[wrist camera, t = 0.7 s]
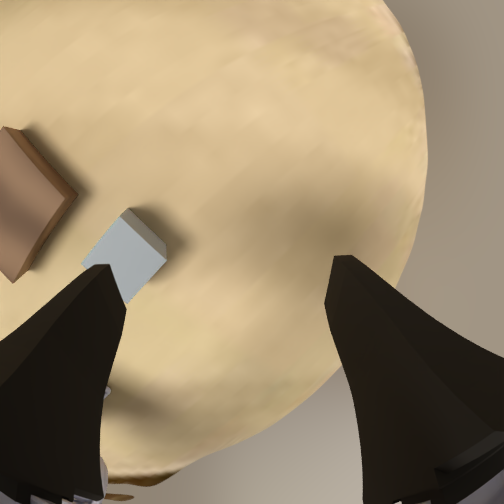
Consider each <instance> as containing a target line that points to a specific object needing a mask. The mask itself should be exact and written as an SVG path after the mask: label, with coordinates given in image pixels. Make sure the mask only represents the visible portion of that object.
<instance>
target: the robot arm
mask: <svg viewBox="0 0 504 504" xmlns="http://www.w3.org/2000/svg"><path fill="white" fill-rule="evenodd" d="M324 305H325V309H326V314H327V319H328V323H329V327H330V331H331V334H332V337H333V340H334V343H335V345H336V348H337V351H338V354H339V357H340V360H341V362H342V365H343V368H344V371H345V374H346V377H347V380H348V383H349V386H350V390H351V393H352V397H353V402H354V407H355V412H356V418H357V424H358V431H359V438H360V446H361V456H362V471H363V504H394V503H397V502H399V501H401V502H402V504H504V358H503V357H500V356H498V355H496V354H494V353H492V352H490V351H488V350H486V349H484V348H482V347H480V346H478V345H476V344H474V343H473V342H471V341H469V340H467V339H466V338H464V337H462V336H460V335H459V334H457V333H456V332H454V331H452V330H451V329H449V328H448V327H446V326H445V325H443V324H442V323H440V322H439V321H437V320H435V319H434V318H433V317H431V316H430V315H428V314H427V313H426V312H424V311H423V310H422V309H420V308H419V307H418V306H416V305H415V304H414V303H412V302H411V301H410V300H408V299H407V298H406V297H404V296H403V295H402V294H401V293H399V292H398V291H397V290H396V289H395V288H393V287H392V286H391V285H390V284H388V283H387V282H386V281H385V280H383V279H382V278H381V277H380V276H378V275H377V274H376V273H375V272H374V271H372V270H371V269H370V268H369V267H367V266H366V265H365V264H363V263H362V262H361V261H359V260H358V259H357V258H355V257H354V256H352V255H340V256H334V259H333V264H332V269H331V274H330V279H329V284H328V289H327V293H326V298H325V302H324ZM126 310H127V309H126V307H125V304H124V302H123V299H122V297H121V294H120V291H119V289H118V286H117V283H116V280H115V278H114V275H113V272H112V269H111V266H110V264H94V265H93V266H91V267H90V268H88V269H87V270H86V271H84V272H83V273H82V274H80V275H79V276H78V277H77V278H76V279H74V280H73V281H72V282H71V283H70V284H68V285H67V286H66V287H65V288H64V289H63V290H61V291H60V292H59V293H58V294H57V295H56V296H55V297H53V298H52V299H51V300H50V301H49V302H48V303H47V304H45V305H44V306H43V307H42V308H41V309H40V310H38V311H37V312H36V313H35V314H34V315H33V316H31V317H30V318H29V319H28V320H27V321H26V322H24V323H23V324H22V325H21V326H20V327H18V328H17V329H16V330H15V331H13V332H12V333H11V334H9V335H8V336H7V337H5V338H4V339H3V340H1V341H0V504H102V501H103V499H104V497H105V494H106V490H107V484H108V470H107V466H106V464H105V462H104V460H103V458H102V457H100V427H101V416H102V407H103V400H104V399H105V398H106V397H107V396H108V395H109V394H110V393H111V389H110V388H109V387H108V386H107V383H108V379H109V376H110V372H111V369H112V365H113V362H114V359H115V355H116V352H117V349H118V346H119V342H120V339H121V336H122V331H123V326H124V321H125V315H126ZM74 498H75V499H74Z"/></svg>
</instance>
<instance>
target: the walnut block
mask: <svg viewBox="0 0 504 504" xmlns="http://www.w3.org/2000/svg"><path fill="white" fill-rule="evenodd" d="M77 195H78V194H77V193H76V192H75V191H74V190H73V189H72V188H71V187H70V185H69V184H68V183H67V182H66V181H65V180H64V179H63V178H62V177H61V176H60V175H59V174H58V173H57V172H56V171H55V169H54V168H53V167H52V166H51V165H50V164H49V163H48V162H47V161H46V159H45V158H44V157H43V156H42V155H41V154H40V153H39V152H38V150H37V149H36V148H35V147H34V146H33V145H32V143H31V142H30V141H29V140H28V139H27V137H26V136H25V135H24V134H23V133H22V131H21V130H17V129H13V128H9V127H4V126H3V127H2V129H1V130H0V271H1V272H2V273H3V274H4V275H5V276H6V277H7V278H8V279H9V280H10V281H11V282H12V283H14V282H16V281H17V280H18V279H19V278H20V277H21V276H22V275H23V274H24V273H26V272H27V271H28V269H29V268H30V266H31V264H32V262H33V261H34V259H35V257H36V255H37V254H38V252H39V250H40V249H41V247H42V246H43V244H44V242H45V241H46V239H47V238H48V236H49V235H50V233H51V232H52V230H53V229H54V227H55V226H56V224H57V223H58V221H59V220H60V218H61V217H62V216H63V214H64V213H65V211H66V210H67V209H68V207H69V206H70V205H71V203H72V202H73V201H74V199H75V198H76V197H77Z"/></svg>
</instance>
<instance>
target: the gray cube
mask: <svg viewBox="0 0 504 504" xmlns="http://www.w3.org/2000/svg"><path fill="white" fill-rule="evenodd" d="M166 261H167V252H166V244H165V243H164V242H163V241H162V240H161V239H160V238H159V237H158V236H157V235H156V234H155V233H154V232H153V231H152V230H151V229H149V228H148V227H147V226H146V225H145V224H144V223H143V222H142V221H141V220H140V219H139V218H138V217H137V216H136V215H135V214H134V213H133V212H132V211H131V210H130V209H129V208H127V209H126V210H125V211H124V212H123V213H122V214H121V215H120V216H119V217H118V218H117V220H116V221H115V222H114V223H113V224H112V225H111V227H110V228H109V229H108V230H107V231H106V233H105V234H104V235H103V236H102V237H101V239H100V240H99V241H98V242H97V244H96V245H95V246H94V247H93V249H92V250H91V251H90V253H89V254H88V255H87V256H86V258H85V259H84V260H83V262H82V263H81V264H82V265H83V266H84V267H85V268H86V269H88V268H90V267H91V266H93V265H94V264H110V266H111V269H112V272H113V275H114V278H115V280H116V283H117V286H118V289H119V291H120V294H121V297H122V299H123V301H124V302H126V303H127V304H128V303H129V301H130V300H131V299H132V298H133V297H134V296H135V295H136V294H137V292H138V291H139V290H140V289H141V288H142V287H143V286H144V285H145V284H146V283H147V281H148V280H149V279H150V278H151V277H152V276H153V275H154V274H155V273H156V272H157V271H158V269H159V268H160V267H161V266H162V265H163V264H164V263H165V262H166Z"/></svg>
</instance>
